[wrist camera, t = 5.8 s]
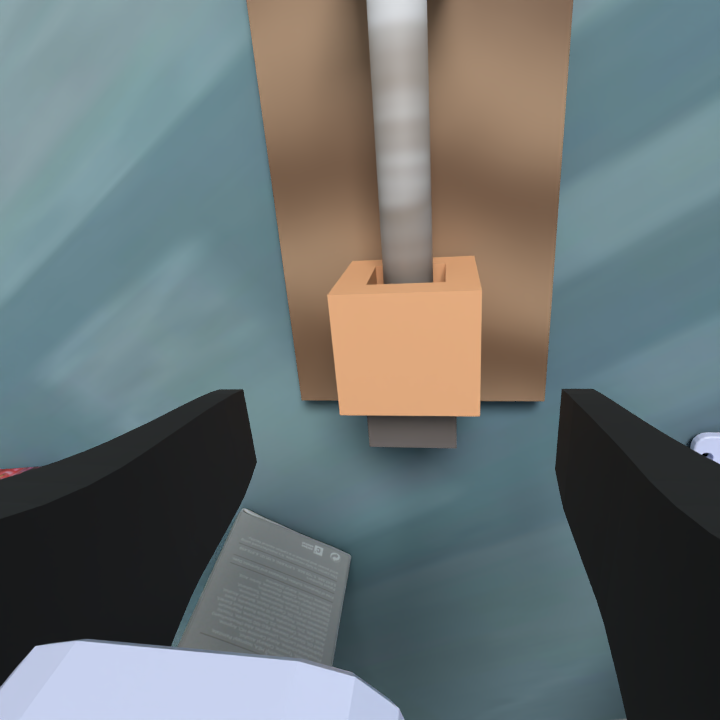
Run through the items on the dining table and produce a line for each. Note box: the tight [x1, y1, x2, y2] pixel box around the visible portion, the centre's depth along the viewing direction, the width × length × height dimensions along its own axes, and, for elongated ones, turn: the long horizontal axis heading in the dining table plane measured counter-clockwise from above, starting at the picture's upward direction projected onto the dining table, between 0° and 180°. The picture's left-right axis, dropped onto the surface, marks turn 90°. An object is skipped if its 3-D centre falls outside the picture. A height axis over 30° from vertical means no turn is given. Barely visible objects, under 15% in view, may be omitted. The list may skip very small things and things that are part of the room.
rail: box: [247, 0, 573, 448], centre depth 17 cm, size 16×10×5 cm, turn 5°
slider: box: [327, 256, 482, 416], centre depth 17 cm, size 4×4×4 cm
